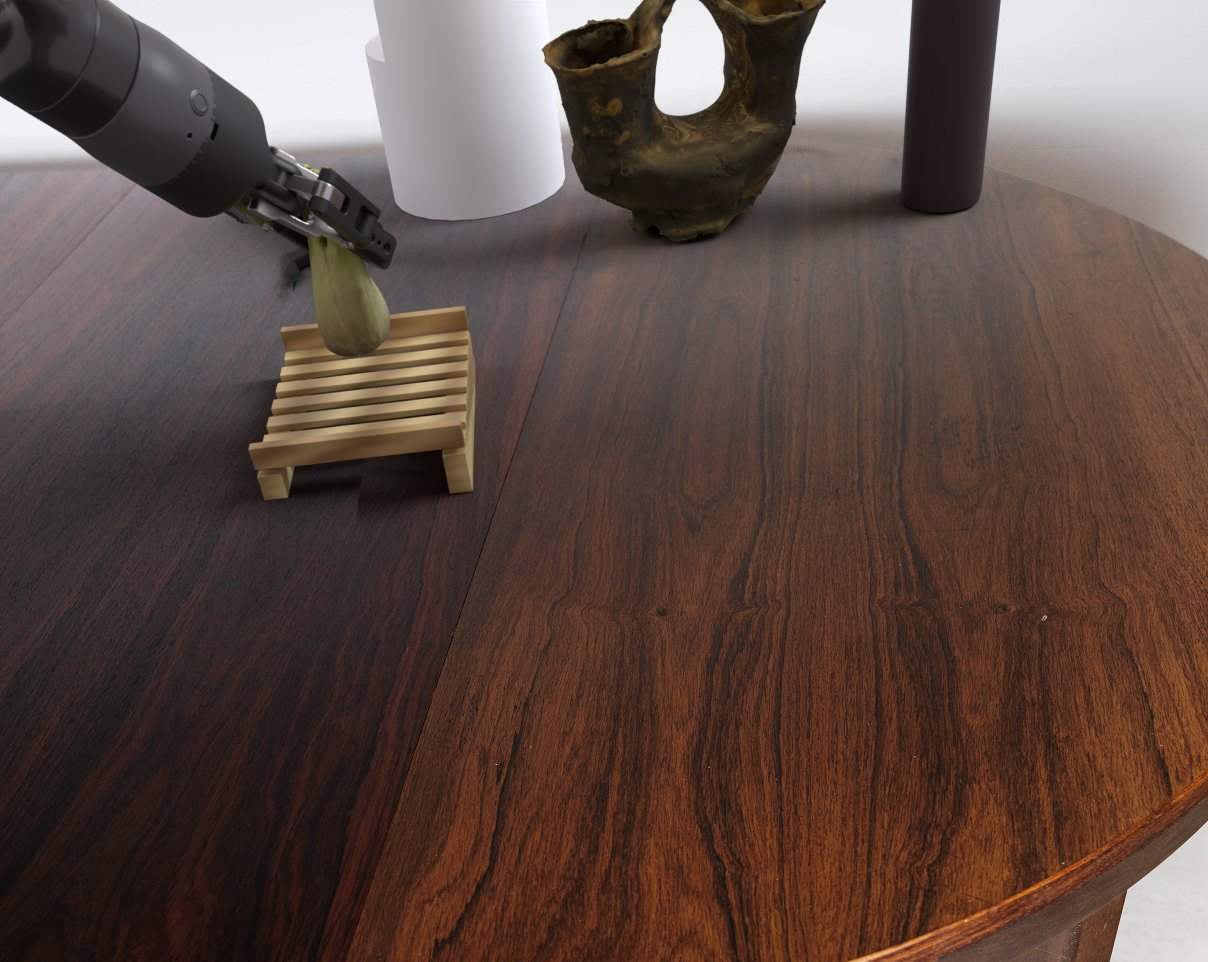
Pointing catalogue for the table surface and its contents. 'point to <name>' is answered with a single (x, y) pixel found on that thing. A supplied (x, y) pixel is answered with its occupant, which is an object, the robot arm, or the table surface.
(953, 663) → the table surface
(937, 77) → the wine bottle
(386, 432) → the drying rack
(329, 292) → the fennel bulb
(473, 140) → the cylinder
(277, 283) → the table surface
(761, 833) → the table surface
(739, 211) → the pottery vessel
